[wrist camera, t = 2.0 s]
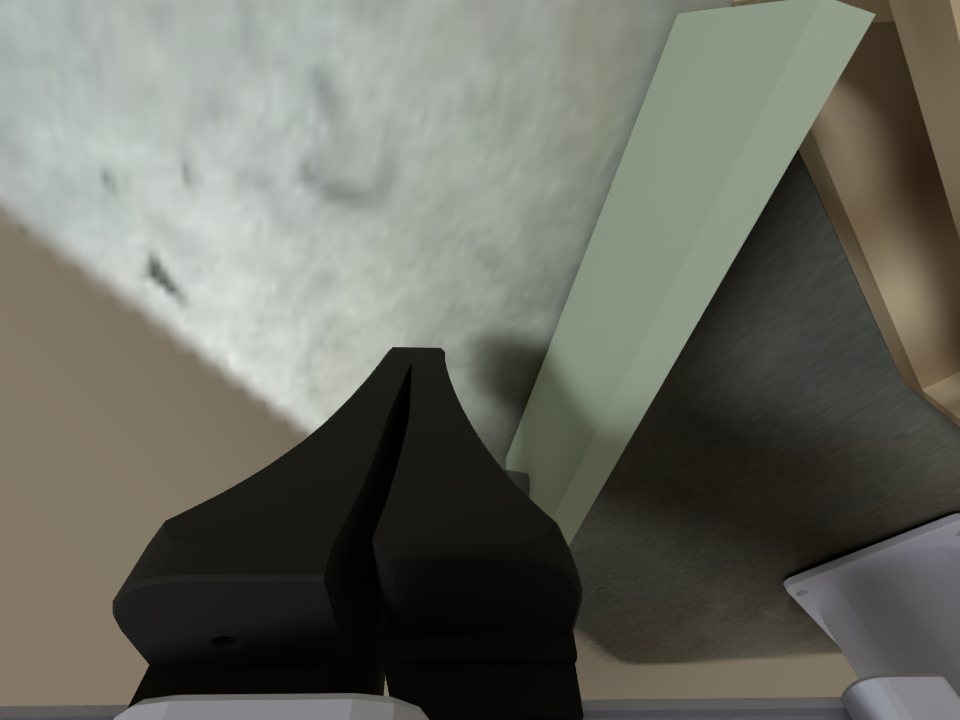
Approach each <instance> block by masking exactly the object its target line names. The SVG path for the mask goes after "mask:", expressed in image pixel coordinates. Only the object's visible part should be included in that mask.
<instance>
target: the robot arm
mask: <svg viewBox="0 0 960 720" xmlns="http://www.w3.org/2000/svg"><path fill="white" fill-rule="evenodd" d="M783 585H784V587H785V588H786V590H787V592H788V593H789V594H790V595H791V596H792V597H793V598H794V599H795V600H796V601H797V602H798V603H799V605H800V606H801V607H802V608H803V609H804V610H805V611H806V612H807V613H808V614H809V615H810V616H811V617H812V618H813V619H814V620H815V621H816V622H817V624H818V625H819V626H820V627H821V628H822V629H823V630H824V631H825V632H826V633H827V634H828V635H829V636H830V637H831V638H832V639H833V640H834V642H835V643H836V644H837V645H838V646H839V647H840V649H841V651H842V652H843V654H844V656H845V657H846V659H847V660H848V662H849V664H850V665H851V667H852V668H853V670H854V672H855V674H856V675H857V677H858V680H857V681H855V682H853V683H852V684H851V685H850V686H849V687H847V688H846V690H845V691H844V692H843V694H842V697H823V698H822V697H819V698H818V697H814V698H729V699H727V698H720V699H625V700H581V697H580V691H579V686H578V680H577V673H576V667H575V662H576V660H577V651H576V645H575V639H574V634H573V630H574V627H575V623H576V620H577V616H578V613H579V609H580V606H581V602H582V586H581V582H580V578H579V574H578V571H577V568H576V565H575V562H574V560H573V557H572V554H571V552H570V549H569V547H568V545H567V542H566V540H565V538H564V536H563V534H562V532H561V530H560V528H559V526H558V524H557V522H555V521H554V520H553V519H552V518H551V517H550V516H548V515H547V514H546V513H545V512H544V511H543V510H542V509H541V508H539V507H538V506H537V505H536V504H535V503H534V502H533V501H532V500H531V499H530V498H529V497H528V496H527V495H526V494H525V493H524V492H523V491H522V490H521V489H520V488H519V487H518V486H517V485H516V484H515V483H514V482H513V480H512V479H511V478H510V477H509V476H508V475H507V473H506V472H505V471H504V470H503V469H502V467H501V466H500V465H499V464H498V463H497V462H496V460H495V459H494V458H493V457H492V455H491V454H490V452H489V451H488V450H487V448H486V447H485V445H484V444H483V443H482V441H481V440H480V438H479V437H478V435H477V433H476V432H475V430H474V429H473V427H472V425H471V423H470V422H469V420H468V418H467V416H466V414H465V412H464V411H463V409H462V407H461V404H460V402H459V400H458V398H457V396H456V393H455V391H454V388H453V386H452V383H451V381H450V378H449V374H448V371H447V367H446V363H445V352H444V351H443V350H442V349H441V348H408V347H393V348H392V349H390V350H389V351H388V353H387V354H386V355H385V357H384V358H383V359H382V361H381V362H380V363H379V365H378V366H377V367H376V368H375V370H374V371H373V372H372V373H371V375H370V376H369V377H368V378H367V379H366V380H365V382H364V383H363V384H362V385H361V386H360V387H359V388H358V390H357V391H356V392H355V393H354V394H353V395H352V396H351V397H350V398H349V399H348V400H347V401H346V402H345V403H344V404H343V405H342V406H341V407H340V408H339V409H338V410H337V411H336V412H335V413H334V414H333V415H332V416H331V417H330V418H329V419H328V420H327V421H326V422H325V423H324V424H323V425H322V426H320V427H319V428H318V429H317V430H316V431H315V432H313V433H312V434H311V435H310V436H309V437H307V438H306V439H305V440H304V441H302V442H301V443H300V444H298V445H297V446H296V447H294V448H293V449H291V450H290V451H289V452H287V453H286V454H284V455H283V456H281V457H280V458H279V459H277V460H276V461H274V462H273V463H271V464H270V465H268V466H267V467H265V468H264V469H262V470H261V471H259V472H257V473H256V474H254V475H252V476H251V477H249V478H248V479H246V480H244V481H242V482H241V483H239V484H237V485H235V486H234V487H232V488H230V489H228V490H226V491H225V492H223V493H221V494H219V495H217V496H215V497H213V498H211V499H209V500H207V501H205V502H203V503H201V504H199V505H197V506H195V507H193V508H191V509H189V510H187V511H185V512H183V513H181V514H179V515H177V516H175V517H173V518H171V519H168V520H166V521H165V522H164V524H163V525H162V526H161V528H160V529H159V531H158V532H157V533H156V535H155V536H154V537H153V539H152V540H151V541H150V543H149V544H148V546H147V547H146V549H145V551H144V552H143V554H142V556H141V557H140V559H139V560H138V562H137V564H136V565H135V567H134V568H133V570H132V572H131V573H130V575H129V576H128V578H127V579H126V581H125V583H124V584H123V586H122V588H121V589H120V591H119V592H118V594H117V595H116V597H115V599H114V600H113V615H114V618H115V620H116V621H117V623H118V625H119V627H120V629H121V630H122V632H123V633H124V634H125V635H126V637H127V638H128V639H129V640H130V642H131V643H132V644H133V645H134V646H135V648H136V649H137V650H138V651H139V652H140V654H141V655H142V656H143V657H144V659H145V660H146V661H147V662H148V664H149V667H148V669H147V671H146V673H145V675H144V677H143V679H142V681H141V683H140V685H139V687H138V689H137V691H136V693H135V695H134V697H133V699H132V700H131V703H130V704H129V705H65V706H64V705H57V706H56V705H55V706H0V720H960V513H956V514H952V515H949V516H946V517H944V518H941V519H939V520H936V521H933V522H931V523H928V524H926V525H923V526H921V527H918V528H915V529H913V530H910V531H908V532H905V533H903V534H900V535H897V536H895V537H892V538H890V539H887V540H885V541H882V542H879V543H877V544H874V545H872V546H869V547H867V548H864V549H861V550H859V551H856V552H854V553H851V554H848V555H846V556H843V557H841V558H838V559H836V560H833V561H830V562H828V563H825V564H823V565H820V566H818V567H815V568H812V569H810V570H807V571H805V572H802V573H800V574H797V575H794V576H792V577H789V578H788V579H786V580H785V581H784V583H783ZM385 676H386V681H387V686H388V691H389V697H388V696H384V682H385Z"/></svg>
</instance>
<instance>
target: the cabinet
mask: <svg viewBox="0 0 960 720" xmlns="http://www.w3.org/2000/svg"><path fill="white" fill-rule="evenodd" d="M776 1H784V0H734V1H733V2H732V3H733V6H734V7H736V6H744V5H752V4H760V3H768V2H776ZM836 1H839V2H842V3H845V4H848V5H851V6H854V7H856V8H859V9H862V10H865V11H868V12H871V13H874V14H876V15H875V17H874V18H873V20H872V22H871V24H870V25H869V27H868V29H867V31H866V32H865V34H864V36H863V37H862V39H861V41H860V43H859V44H858V46H857V48H856V50H855V51H854V53H853V55H852V56H851V58H850V60H849V62H848V63H847V65H846V67H845V69H844V70H843V72H842V74H841V76H840V77H839V79H838V81H837V82H836V84H835V86H834V88H833V89H832V91H831V93H830V95H829V96H828V98H827V100H826V101H825V103H824V105H823V107H822V108H821V110H820V112H819V114H818V115H817V117H816V119H815V120H814V122H813V124H812V126H811V127H810V129H809V131H808V133H807V134H806V136H805V138H804V140H803V141H802V143H801V145H800V146H799V148H798V150H799V152H800V154H801V156H802V159H803V161H804V163H805V165H806V167H807V170H808V172H809V174H810V176H811V179H812V181H813V183H814V185H815V187H816V190H817V192H818V194H819V196H820V198H821V201H822V203H823V205H824V207H825V210H826V212H827V214H828V216H829V218H830V221H831V223H832V225H833V227H834V230H835V232H836V234H837V236H838V238H839V241H840V243H841V245H842V247H843V249H844V252H845V254H846V256H847V258H848V261H849V263H850V265H851V267H852V269H853V272H854V274H855V276H856V278H857V280H858V283H859V285H860V287H861V289H862V292H863V294H864V296H865V298H866V300H867V303H868V305H869V307H870V309H871V312H872V314H873V316H874V318H875V320H876V323H877V325H878V327H879V329H880V331H881V334H882V336H883V338H884V340H885V343H886V345H887V347H888V349H889V351H890V354H891V356H892V358H893V360H894V362H895V365H896V367H897V369H898V371H899V374H900V376H901V378H902V380H903V382H904V383H905V384H906V385H907V386H909V387H910V388H911V389H913V390H914V391H915V392H916V393H918V394H919V395H920V396H921V397H923V398H924V399H925V400H926V401H928V402H929V403H930V404H932V405H933V406H934V407H935V408H937V409H938V410H939V411H940V412H942V413H943V414H944V415H945V416H947V417H948V418H949V419H951V420H952V421H953V422H954V423H956V424H957V425H958V426H959V427H960V0H836Z"/></svg>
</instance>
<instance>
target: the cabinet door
mask: <svg viewBox="0 0 960 720" xmlns="http://www.w3.org/2000/svg"><path fill="white" fill-rule="evenodd" d="M875 15H876V14H874V13H871V12H868V11H865V10H862V9H859V8H856V7H854V6H851V5H848V4H845V3H842V2H839V1H836V0H784V1H776V2H768V3H760V4H752V5H744V6H736V7H728V8H719V9H711V10H703V11H695V12H687V13H679V14H678V15H677V17H676V20H675V22H674V25H673V28H672V30H671V33H670V35H669V38H668V41H667V43H666V46H665V48H664V51H663V54H662V56H661V59H660V61H659V64H658V66H657V69H656V72H655V74H654V77H653V79H652V82H651V85H650V87H649V90H648V92H647V95H646V98H645V100H644V103H643V105H642V108H641V110H640V113H639V116H638V118H637V121H636V123H635V126H634V129H633V131H632V134H631V136H630V139H629V142H628V144H627V147H626V149H625V152H624V154H623V157H622V160H621V162H620V165H619V167H618V170H617V173H616V175H615V178H614V180H613V183H612V186H611V188H610V191H609V193H608V196H607V198H606V201H605V204H604V206H603V209H602V211H601V214H600V217H599V219H598V222H597V224H596V227H595V230H594V232H593V235H592V237H591V240H590V242H589V245H588V248H587V250H586V253H585V255H584V258H583V261H582V263H581V266H580V268H579V271H578V274H577V276H576V279H575V281H574V284H573V287H572V289H571V292H570V294H569V297H568V299H567V302H566V305H565V307H564V310H563V312H562V315H561V318H560V320H559V323H558V325H557V328H556V331H555V333H554V336H553V338H552V341H551V343H550V346H549V349H548V351H547V354H546V356H545V359H544V362H543V364H542V367H541V369H540V372H539V375H538V377H537V380H536V382H535V385H534V387H533V390H532V393H531V395H530V398H529V400H528V403H527V406H526V408H525V411H524V413H523V416H522V419H521V421H520V424H519V426H518V429H517V431H516V434H515V437H514V439H513V442H512V444H511V447H510V450H509V452H508V455H507V457H506V460H505V461H506V470H504V469H503V470H504V471H505V472H506V473H507V475H508V476H509V477H510V478H511V479H512V480H513V482H514V483H515V484H516V485H517V486H518V487H519V488H520V489H521V490H522V491H523V492H524V493H525V494H526V495H527V496H528V497H529V498H530V499H531V500H532V501H533V502H534V503H535V504H536V505H537V506H538V507H539V508H541V509H542V510H543V511H544V512H545V513H546V514H547V515H548V516H550V517H551V518H552V519H553V520H554V521H555V522H557V524H558V526H559V528H560V530H561V532H562V534H563V536H564V538H565V540H566V542H567V545H568V546H569V544H570V543H571V541H572V539H573V537H574V536H575V534H576V532H577V531H578V529H579V527H580V525H581V524H582V522H583V520H584V518H585V517H586V515H587V513H588V511H589V510H590V508H591V506H592V505H593V503H594V501H595V499H596V498H597V496H598V494H599V492H600V491H601V489H602V487H603V486H604V484H605V482H606V480H607V479H608V477H609V475H610V473H611V472H612V470H613V468H614V467H615V465H616V463H617V461H618V460H619V458H620V456H621V454H622V453H623V451H624V449H625V447H626V446H627V444H628V442H629V441H630V439H631V437H632V435H633V434H634V432H635V430H636V428H637V427H638V425H639V423H640V422H641V420H642V418H643V416H644V415H645V413H646V411H647V409H648V408H649V406H650V404H651V402H652V401H653V399H654V397H655V396H656V394H657V392H658V390H659V389H660V387H661V385H662V383H663V382H664V380H665V378H666V377H667V375H668V373H669V371H670V370H671V368H672V366H673V364H674V363H675V361H676V359H677V358H678V356H679V354H680V352H681V351H682V349H683V347H684V345H685V344H686V342H687V340H688V338H689V337H690V335H691V333H692V332H693V330H694V328H695V326H696V325H697V323H698V321H699V319H700V318H701V316H702V314H703V313H704V311H705V309H706V307H707V306H708V304H709V302H710V300H711V299H712V297H713V295H714V294H715V292H716V290H717V288H718V287H719V285H720V283H721V281H722V280H723V278H724V276H725V274H726V273H727V271H728V269H729V268H730V266H731V264H732V262H733V261H734V259H735V257H736V255H737V254H738V252H739V250H740V249H741V247H742V245H743V243H744V242H745V240H746V238H747V236H748V235H749V233H750V231H751V229H752V228H753V226H754V224H755V223H756V221H757V219H758V217H759V216H760V214H761V212H762V210H763V209H764V207H765V205H766V204H767V202H768V200H769V198H770V197H771V195H772V193H773V191H774V190H775V188H776V186H777V185H778V183H779V181H780V179H781V178H782V176H783V174H784V172H785V171H786V169H787V167H788V165H789V164H790V162H791V160H792V159H793V157H794V155H795V153H796V152H797V150H798V148H799V146H800V145H801V143H802V141H803V140H804V138H805V136H806V134H807V133H808V131H809V129H810V127H811V126H812V124H813V122H814V120H815V119H816V117H817V115H818V114H819V112H820V110H821V108H822V107H823V105H824V103H825V101H826V100H827V98H828V96H829V95H830V93H831V91H832V89H833V88H834V86H835V84H836V82H837V81H838V79H839V77H840V76H841V74H842V72H843V70H844V69H845V67H846V65H847V63H848V62H849V60H850V58H851V56H852V55H853V53H854V51H855V50H856V48H857V46H858V44H859V43H860V41H861V39H862V37H863V36H864V34H865V32H866V31H867V29H868V27H869V25H870V24H871V22H872V20H873V18H874V17H875Z"/></svg>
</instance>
